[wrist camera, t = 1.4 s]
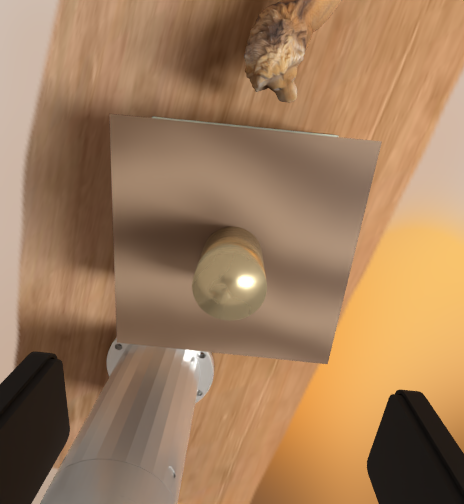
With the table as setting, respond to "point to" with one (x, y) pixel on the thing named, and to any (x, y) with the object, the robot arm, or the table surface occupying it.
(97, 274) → the table surface
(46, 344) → the table surface
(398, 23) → the table surface
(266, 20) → the lion figurine
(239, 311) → the walnut cover
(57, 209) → the table surface
